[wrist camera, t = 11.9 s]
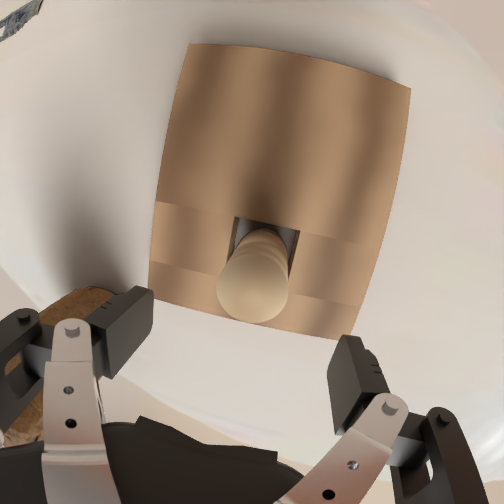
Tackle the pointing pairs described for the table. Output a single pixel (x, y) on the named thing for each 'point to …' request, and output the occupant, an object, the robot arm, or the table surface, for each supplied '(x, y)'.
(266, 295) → the peg
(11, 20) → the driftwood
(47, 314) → the block
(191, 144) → the board
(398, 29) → the table surface
